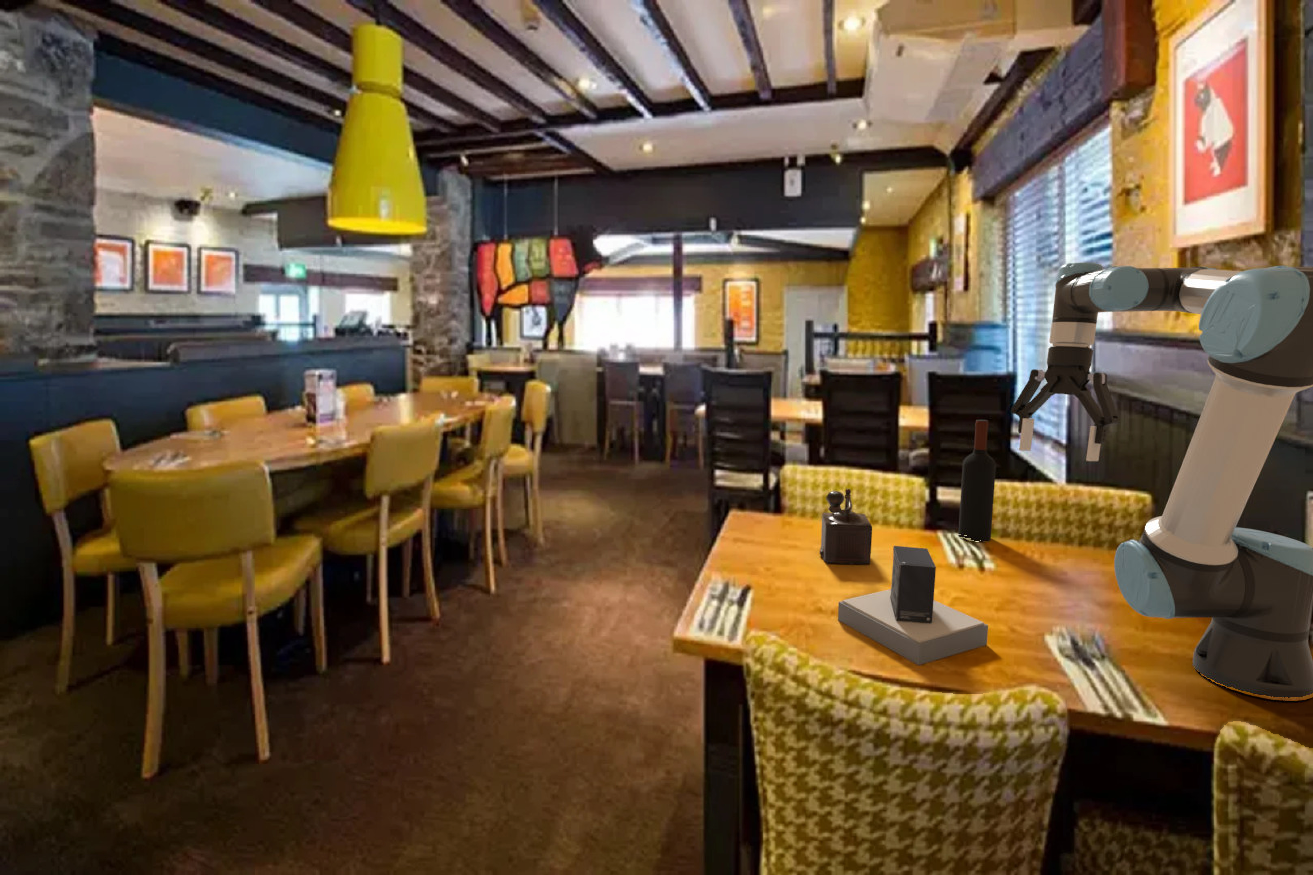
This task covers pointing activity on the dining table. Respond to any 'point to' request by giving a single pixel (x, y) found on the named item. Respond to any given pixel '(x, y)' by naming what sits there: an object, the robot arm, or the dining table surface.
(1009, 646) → the dining table surface
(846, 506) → the pepper mill
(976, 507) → the wine bottle
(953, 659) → the dining table surface
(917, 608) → the small box
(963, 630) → the stand
